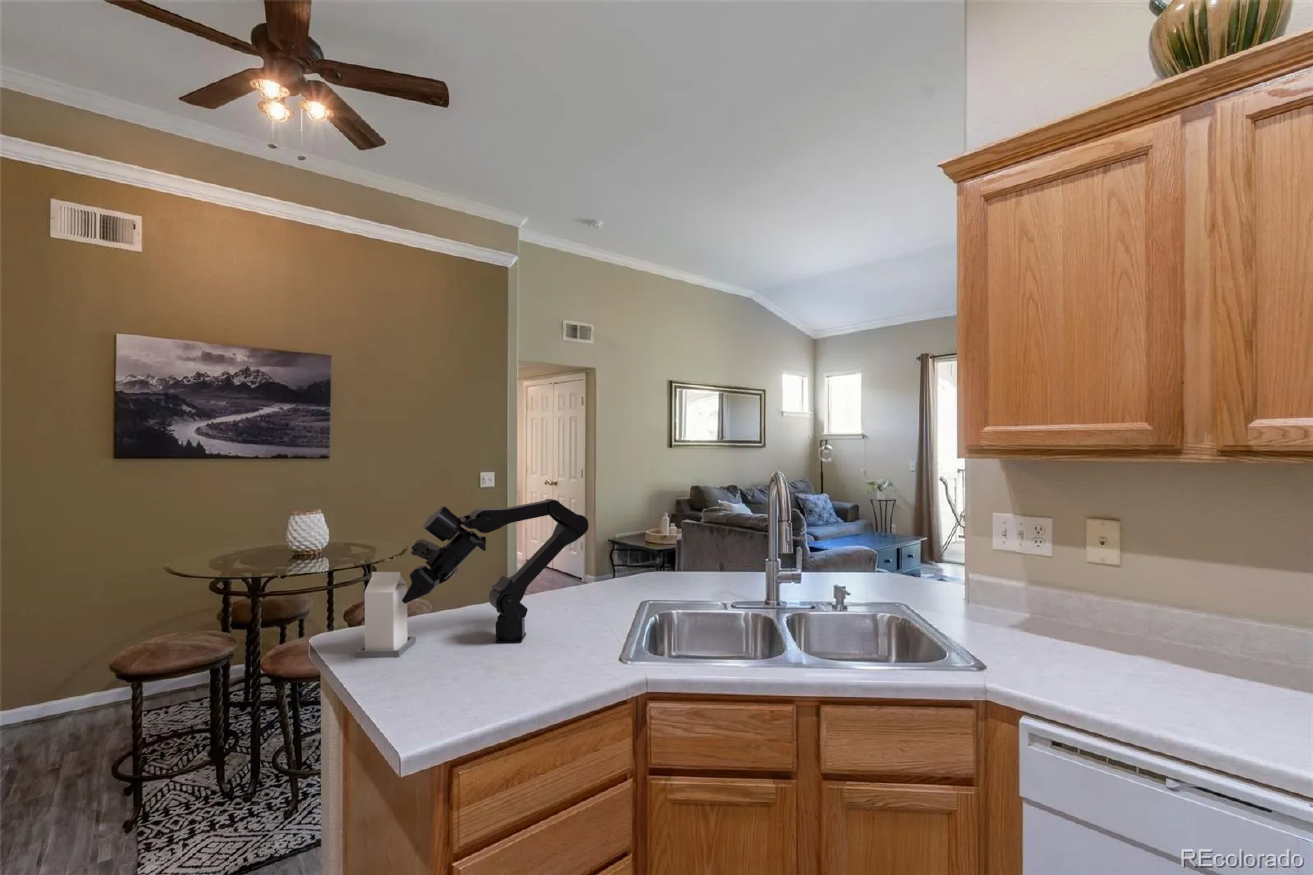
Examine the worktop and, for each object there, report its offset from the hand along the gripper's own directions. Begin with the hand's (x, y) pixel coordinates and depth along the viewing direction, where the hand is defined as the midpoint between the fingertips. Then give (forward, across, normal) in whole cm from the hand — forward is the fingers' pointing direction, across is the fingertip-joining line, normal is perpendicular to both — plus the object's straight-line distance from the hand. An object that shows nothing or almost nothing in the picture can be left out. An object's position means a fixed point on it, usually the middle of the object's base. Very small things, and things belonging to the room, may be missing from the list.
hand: (411, 597), depth 141 cm
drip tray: (+13, 0, +5) cm, 14 cm away
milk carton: (+14, 0, +5) cm, 14 cm away
